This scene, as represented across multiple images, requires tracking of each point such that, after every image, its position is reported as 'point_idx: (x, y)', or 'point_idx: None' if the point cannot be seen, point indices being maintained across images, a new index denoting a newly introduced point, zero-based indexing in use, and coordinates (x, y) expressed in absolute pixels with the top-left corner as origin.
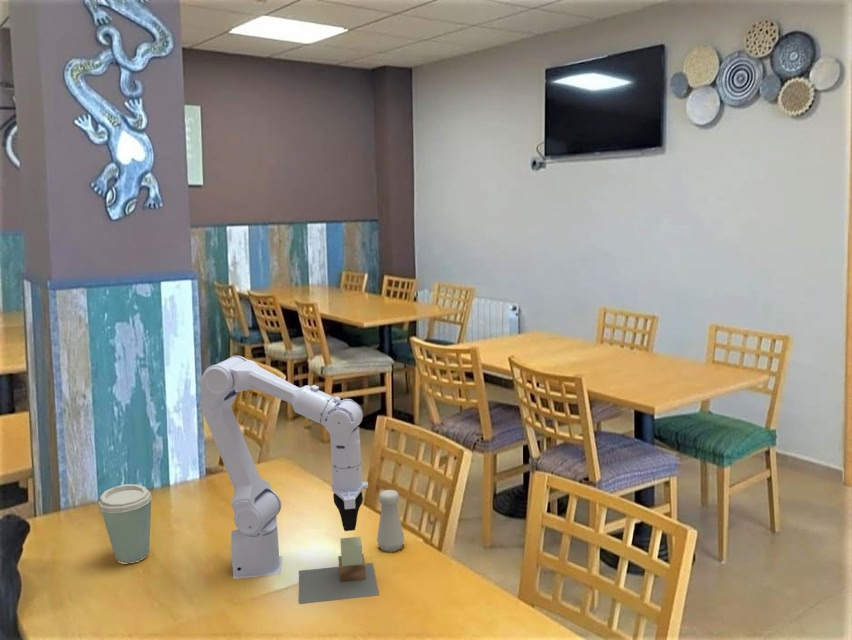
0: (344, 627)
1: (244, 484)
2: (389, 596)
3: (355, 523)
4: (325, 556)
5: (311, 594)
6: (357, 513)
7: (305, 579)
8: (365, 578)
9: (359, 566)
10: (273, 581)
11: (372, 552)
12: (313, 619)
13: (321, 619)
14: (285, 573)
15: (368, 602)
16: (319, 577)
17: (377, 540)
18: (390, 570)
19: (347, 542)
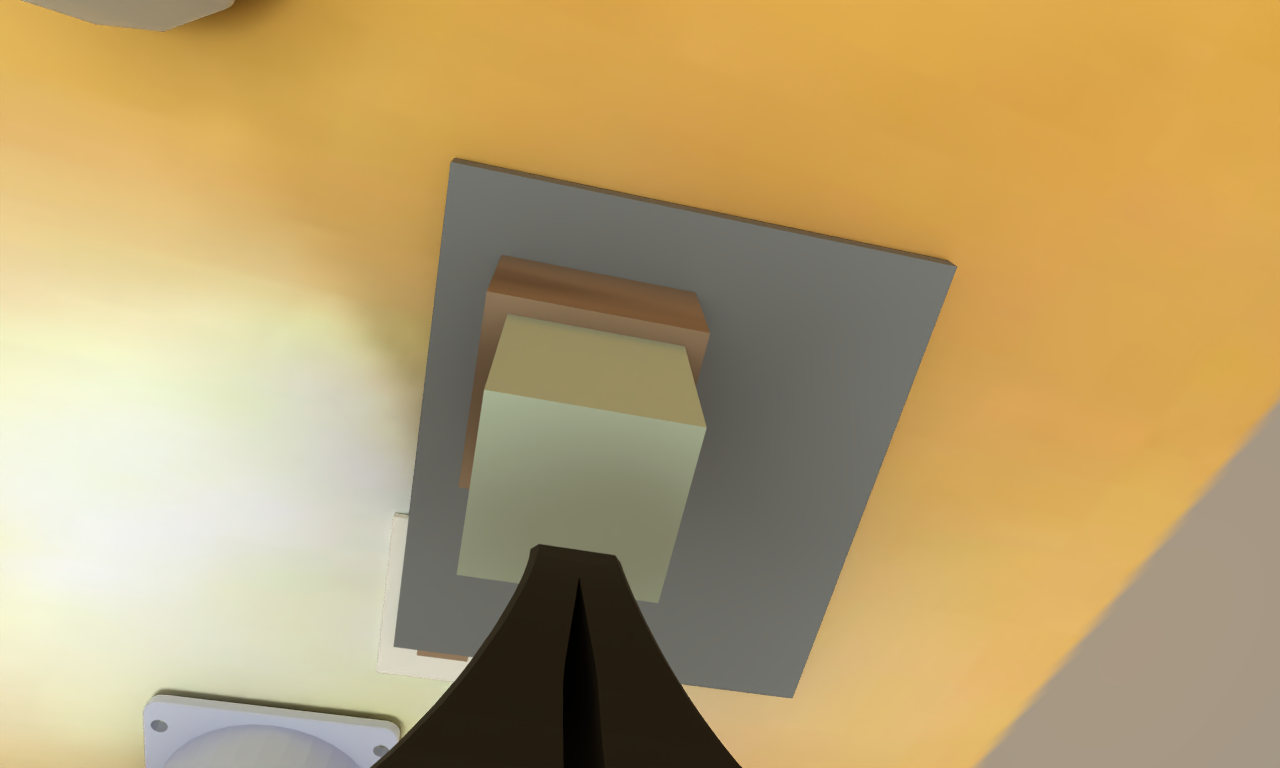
0: (1121, 527)
1: None
2: (965, 184)
3: (635, 609)
4: (184, 449)
5: (726, 631)
6: (706, 723)
7: None
8: (694, 295)
9: (696, 374)
10: None
11: (194, 83)
12: (948, 643)
13: (972, 610)
14: (369, 693)
15: (955, 340)
16: None
17: (123, 26)
18: (585, 38)
19: (581, 536)
